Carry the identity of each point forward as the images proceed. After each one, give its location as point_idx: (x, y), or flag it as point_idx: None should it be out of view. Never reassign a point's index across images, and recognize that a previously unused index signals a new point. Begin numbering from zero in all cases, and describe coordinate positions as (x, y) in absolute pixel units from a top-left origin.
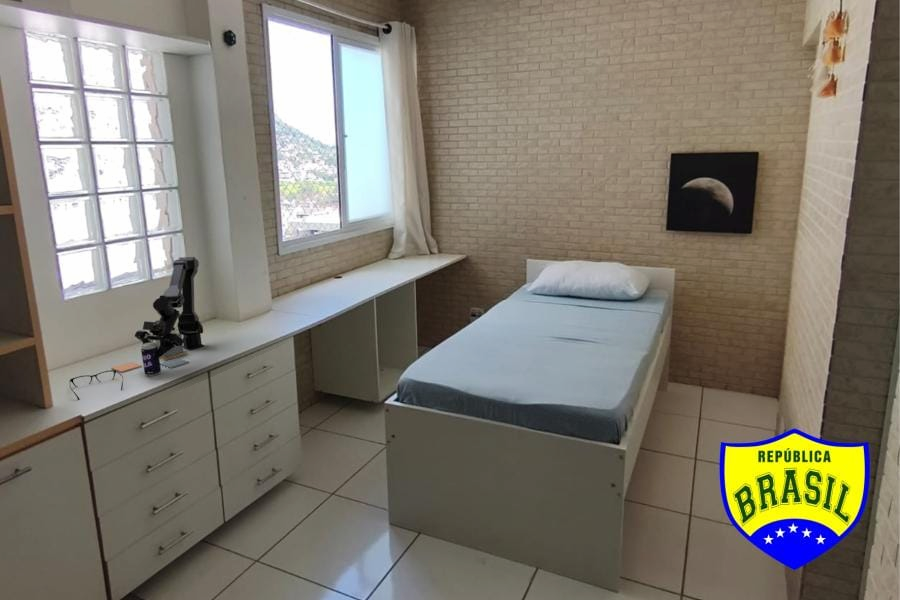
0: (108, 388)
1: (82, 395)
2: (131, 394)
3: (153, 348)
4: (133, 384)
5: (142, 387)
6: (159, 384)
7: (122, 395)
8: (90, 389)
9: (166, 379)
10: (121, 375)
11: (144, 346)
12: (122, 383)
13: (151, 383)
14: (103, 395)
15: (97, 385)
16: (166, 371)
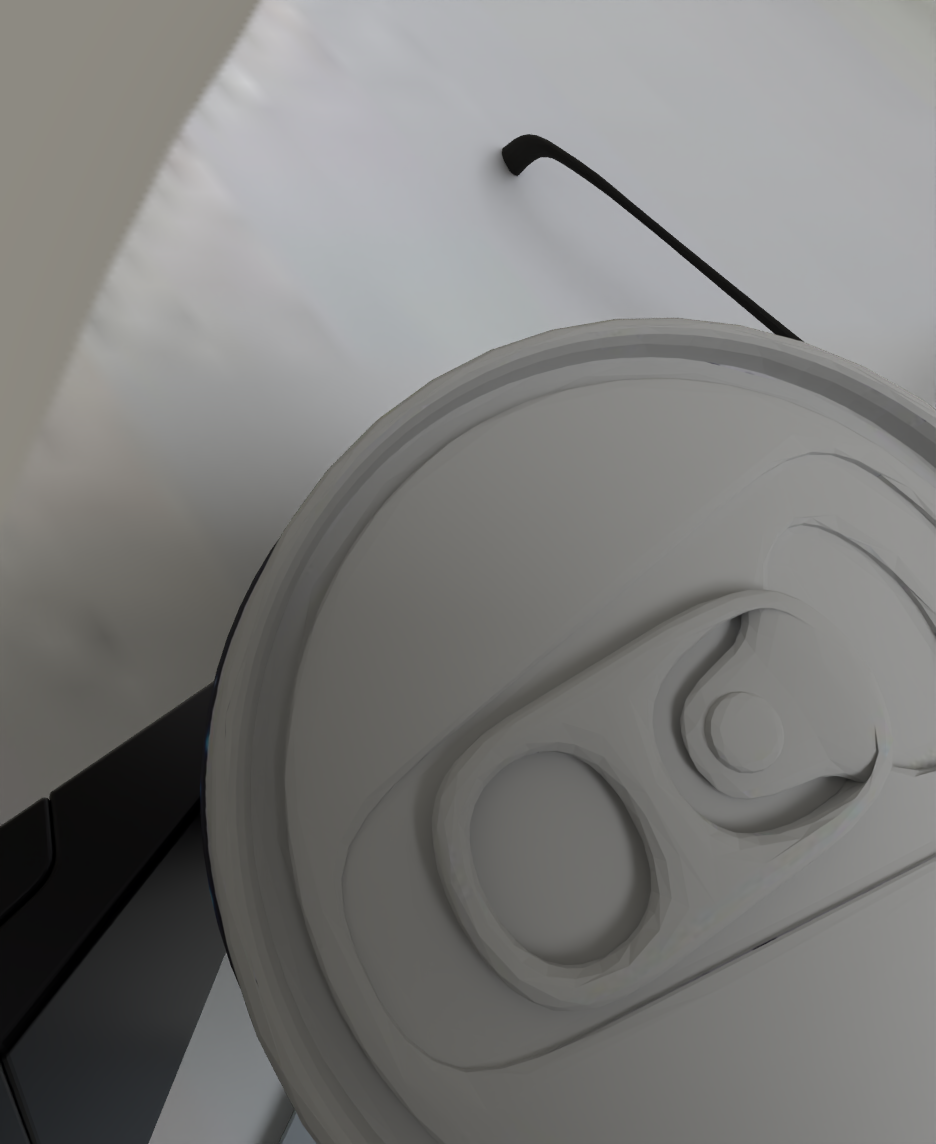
0: (714, 206)
1: (832, 36)
2: (293, 54)
3: (257, 578)
4: (492, 333)
5: (292, 245)
6: (100, 350)
7: (385, 31)
8: (895, 176)
9: (95, 544)
10: (714, 270)
11: (692, 325)
12: (538, 140)
13: (250, 378)
14: (607, 34)
15: (925, 284)
16: None
